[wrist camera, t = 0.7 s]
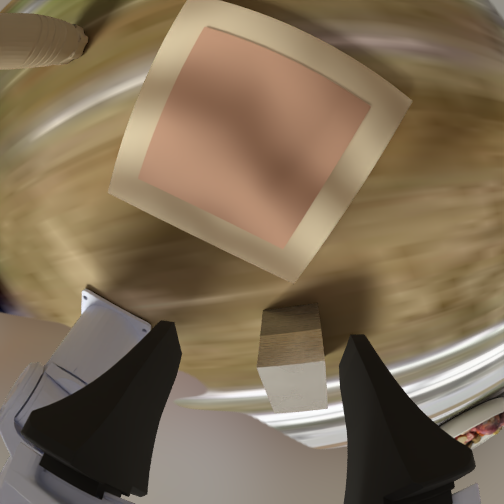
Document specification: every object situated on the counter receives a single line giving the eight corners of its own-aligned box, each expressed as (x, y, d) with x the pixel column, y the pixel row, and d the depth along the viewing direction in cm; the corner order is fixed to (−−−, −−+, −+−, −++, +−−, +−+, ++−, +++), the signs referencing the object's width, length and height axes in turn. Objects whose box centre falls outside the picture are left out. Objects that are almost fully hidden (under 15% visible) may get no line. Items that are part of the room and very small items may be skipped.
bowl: (477, 434, 41) (482, 454, 35) (386, 464, 46) (388, 489, 39) (531, 372, 27) (543, 398, 21) (425, 418, 32) (434, 455, 26)
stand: (293, 268, 20) (294, 285, 18) (122, 184, 18) (106, 193, 16) (399, 101, 13) (414, 100, 11) (200, 4, 11) (190, -8, 9)
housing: (317, 302, 21) (324, 360, 16) (323, 356, 25) (327, 408, 19) (262, 309, 22) (256, 367, 17) (277, 361, 25) (274, 413, 20)
